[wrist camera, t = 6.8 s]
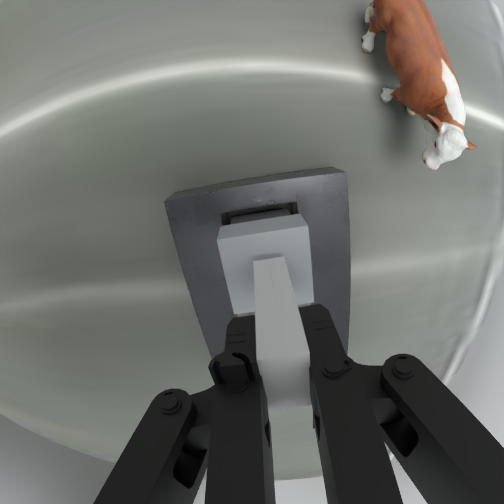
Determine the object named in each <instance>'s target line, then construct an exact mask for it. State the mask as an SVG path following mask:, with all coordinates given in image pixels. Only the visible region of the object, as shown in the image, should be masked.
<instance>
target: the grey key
mask: <svg viewBox="0 0 504 504" xmlns="http://www.w3.org/2000/svg"><path fill="white" fill-rule="evenodd" d="M217 243H218V248H219V252H220V257H221V261H222V265H223V270H224V274H225V278H226V282H227V287H228V291H229V295H230V299H231V303H232V307H233V311H234V314H242V313H249V312H255V297H254V267H253V261H258V260H264V259H271V258H277V257H283V256H284V258H285V261H286V265H287V268H288V272H289V276H290V279H291V283H292V287H293V290H294V294H295V298H296V302H297V305H301V304H307V303H312V302H314V293H313V277H312V264H311V251H310V240H309V229H308V225H307V223H306V222H305V220H304V218H303V217H302V215H301V214H295V215H291V214H290V212H289V211H288V209H287V208H286V209H279V210H272V211H266V212H260V213H253V214H247V215H241V216H235V217H232V218H231V223H230V225H225V226H221V227H220V230H219V234H218V237H217Z"/></svg>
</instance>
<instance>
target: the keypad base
mask: <svg viewBox="0 0 504 504" xmlns="http://www.w3.org/2000/svg"><path fill="white" fill-rule="evenodd" d="M287 202H291V203H292V211H293V215H295V214H301V215H302V217H303V218H304V220H305V222H306V223H307V225H308V229H309V240H310V251H311V264H312V277H313V293H314V302H312V303H311V305H315V304H322V305H323V306H324V307H325V308H327V309H328V310H329V313H330V315H331V318H332V320H333V322H334V325H335V327H336V330H337V332H338V335H339V337H340V340H341V342H342V345H343V348H344V350H345V353H346V354H347V350H348V336H349V317H350V224H349V205H348V190H347V178H346V172H344V171H341V170H339V169H336V168H334V167H329V168H320V169H311V170H303V171H295V172H288V173H281V174H274V175H267V176H260V177H254V178H248V179H242V180H236V181H230V182H225V183H219V184H214V185H209V186H204V187H199V188H194V189H189V190H184V191H179V192H175V193H174V194H173V195H171V196H170V197H169V198H168V199H167V200H165V201H164V203H165V207H166V211H167V215H168V219H169V223H170V227H171V230H172V234H173V238H174V241H175V245H176V249H177V252H178V256H179V259H180V263H181V266H182V270H183V273H184V276H185V280H186V283H187V286H188V289H189V292H190V296H191V299H192V302H193V305H194V308H195V311H196V314H197V317H198V320H199V323H200V326H201V329H202V332H203V335H204V338H205V341H206V343H207V346H208V349H209V352H210V355H211V357H212V359H213V358H214V357H215V356H216V355H218V354H220V353H222V352H224V349H225V339H226V329H227V325H228V324H229V322H230V321H231V319H232V318H234V317H238V314H234V311H233V307H232V303H231V299H230V295H229V291H228V287H227V282H226V278H225V274H224V270H223V265H222V261H221V257H220V252H219V248H218V243H217V237H218V234H219V230H220V227H221V226H225V225H228V221H227V216H226V212H231V211H237V210H243V209H249V208H255V207H261V206H267V205H274V204H281V203H287Z"/></svg>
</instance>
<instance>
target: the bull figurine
mask: <svg viewBox="0 0 504 504" xmlns="http://www.w3.org/2000/svg"><path fill="white" fill-rule="evenodd" d="M365 22H366V23H369V29H368V32H367V33H366V34H365V35H364V36H362V39H363V40H364V41H363V43H362V45H361V47H362V49H363V51H364V52H366V53H372V51H373V48H374V38H375V35H376V34H377V33H378V32H379V31H384V32H387V38H386V52H387V57H388V60H389V62H390V64H391V66H392V68H393V70H394V71H395V72H396V74H397V75H398V77H399V80H400V83H401V86H400V88H395V89H394V90H393V89H388V88H386V87H384V88H382V89H383V92H382V93H381V94H380V99H381V101H382V102H384V103H389V102H390V100H391V99H392V97H393V98H394V99H395V100H397V101H400V102H401V103H402V104H403V105H405V106H407V108H406V112H407V114H408V115H409V116H411V117H413V116H415V115H417V116H418V117H419V118H420V119H421V120H422V122H423V124H424V127H425V129H426V130H427V131H428V133H427V137H426V144H427V148H426V150H424V152H423V153H422V160H423V162H424V163H425V164H426V165H427V166H428V167H429V168H431V169H433V170H436V169H438V168H439V165H440V164H442V163H444V162H448V161H451V160H454V159H456V158H457V157H459V156H460V155H461V153H462V151H463V150H464V149H465V148H466V149H469V150H472V149H477V146H475V145H473V144H472V143H471V142H469V141H467V140H466V138H465V136H464V134H463V128H464V124H465V118H466V110H465V106H464V103H463V100H462V98H461V93H460V87H459V83H458V80H457V78H456V76H455V74H454V71H453V69H452V66H451V63H450V60H449V57H448V54H447V52H446V49H445V47H444V44H443V42H442V40H441V37H440V35H439V33H438V30H437V27H436V24H435V22H434V20H433V18H432V16H431V14H430V12H429V10H428V8H427V7H426V5H425V3H424V1H423V0H374V1H373V2H372V3H371V4H370V5H369V6H368V7H367V9H366V12H365Z"/></svg>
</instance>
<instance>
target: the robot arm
mask: <svg viewBox="0 0 504 504" xmlns="http://www.w3.org/2000/svg"><path fill="white" fill-rule="evenodd" d="M253 267H254V297H255V315H249V316H242V317H234V318H232V319H231V321H230V322H229V324H228V325H227V329H226V339H225V349H224V352H222V353H220V354H218V355H216V356H215V357H214V358H213V359H212V360H211V362H210V364H209V367H208V368H209V371H210V373H211V376H212V378H213V380H214V383H215V385H214V386H212V387H211V388H209V389H207V390H205V391H202V392H199V393H195V394H192V395H189V394H188V393H187V392H186V391H183V390H181V389H169V390H165V391H163V392H161V393H160V394H158V395H157V396H156V397H155V398H154V399H153V401H152V402H151V404H150V406H149V408H148V409H147V411H146V413H145V414H144V416H143V418H142V420H141V421H140V423H139V425H138V427H137V428H136V430H135V432H134V433H133V435H132V437H131V439H130V440H129V442H128V444H127V446H126V447H125V449H124V451H123V452H122V454H121V456H120V458H119V459H118V461H117V463H116V465H115V467H114V468H113V470H112V472H111V473H110V475H109V477H108V479H107V480H106V482H105V484H104V486H103V487H102V489H101V491H100V493H99V495H98V496H97V498H96V500H95V502H94V503H93V504H193V502H194V499H195V497H196V494H197V491H198V489H199V487H200V484H201V482H202V479H203V477H204V474H205V472H206V469H207V479H206V492H205V504H276V503H275V488H274V472H273V457H272V442H271V427H270V421H269V417H268V411H273V410H281V409H288V408H295V407H301V406H307V405H311V403H312V408H313V428H315V431H316V437H317V442H318V448H319V454H320V459H321V465H322V471H323V477H324V483H325V489H326V496H327V502H328V504H403V502H402V498H401V495H400V491H399V488H398V484H397V481H396V478H395V475H394V471H393V468H392V465H391V462H390V458H389V455H388V452H387V449H386V446H385V443H386V444H387V446H388V447H389V449H390V450H391V452H392V453H393V455H394V456H395V457H396V459H397V460H398V461H399V463H400V465H401V466H402V467H403V469H404V470H405V472H406V473H407V475H408V476H409V477H410V479H411V480H412V482H413V483H414V485H415V486H416V487H417V489H418V490H419V492H420V493H421V495H422V496H423V498H424V499H425V500H426V502H427V503H428V504H504V448H503V447H502V446H501V445H500V443H499V442H498V441H497V440H496V439H495V438H494V437H493V436H492V435H491V433H490V432H489V431H488V430H487V429H486V428H485V427H484V426H483V425H482V424H481V423H480V421H478V420H477V418H476V417H475V416H474V415H473V414H472V413H471V412H470V411H469V410H468V409H467V408H466V407H465V406H464V405H463V403H462V402H461V401H460V400H459V399H458V398H457V397H456V396H455V395H454V394H453V393H452V392H451V391H450V390H449V389H448V388H447V387H446V386H445V385H444V384H443V383H442V382H441V381H440V380H439V379H438V378H437V377H436V376H435V375H434V374H433V373H432V372H431V371H430V370H429V369H428V368H427V367H426V366H425V365H424V364H423V363H422V362H421V361H420V360H419V359H417V358H416V357H414V356H412V355H408V354H397V355H394V356H391V357H390V358H389V359H387V360H386V361H385V363H384V365H383V366H368V365H361V364H358V363H356V362H354V361H353V360H352V359H351V358H349V357H348V356H347V354H346V353H345V350H344V348H343V345H342V342H341V340H340V337H339V335H338V332H337V330H336V327H335V325H334V322H333V320H332V318H331V315H330V313H329V310H328V309H327V308H325V307H324V306H323V305H322V304H315V305H309V306H303V307H298V305H297V302H296V298H295V294H294V290H293V287H292V283H291V279H290V276H289V272H288V268H287V265H286V261H285V258H284V256H283V257H277V258H271V259H264V260H258V261H253ZM384 442H385V443H384ZM207 466H208V467H207Z"/></svg>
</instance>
